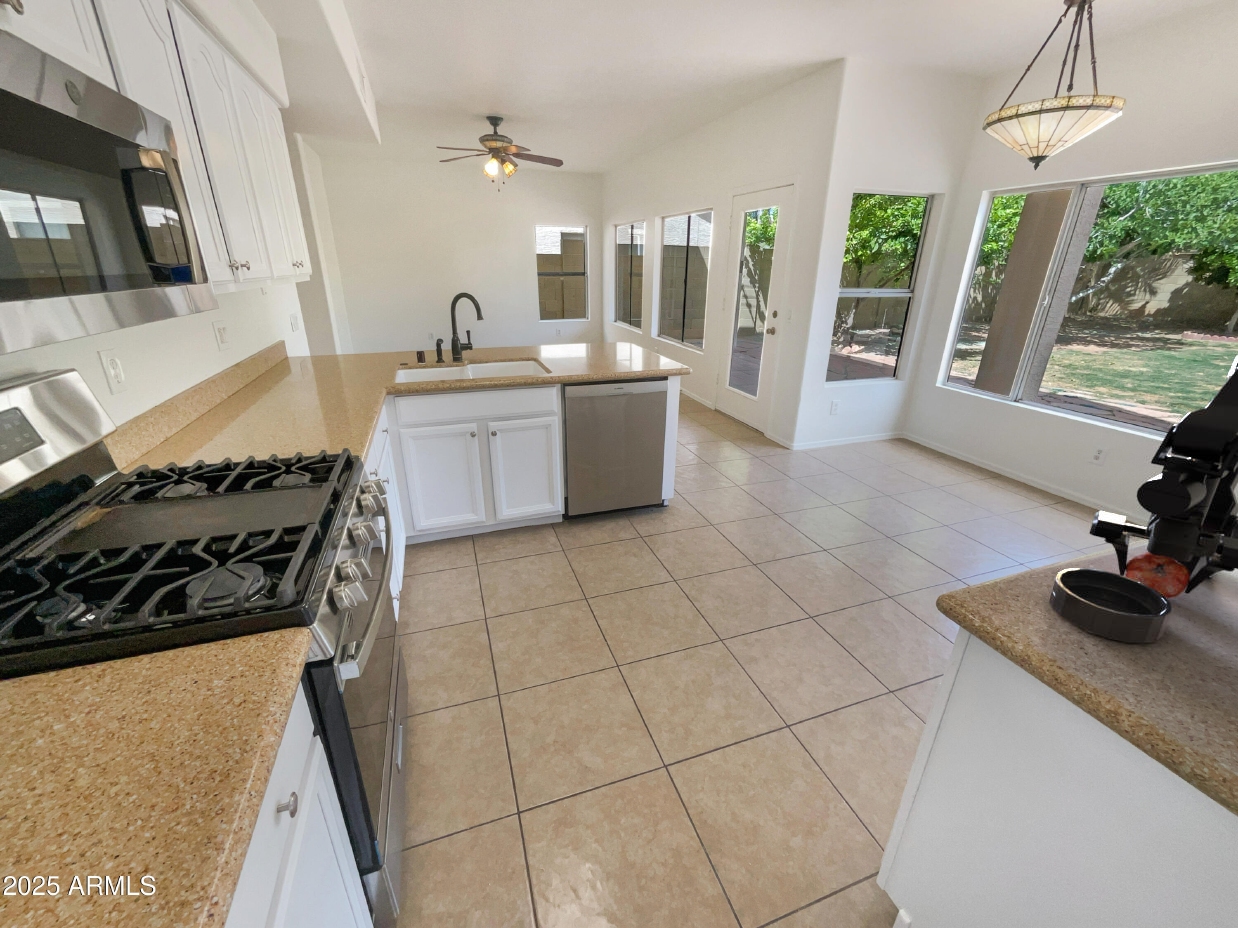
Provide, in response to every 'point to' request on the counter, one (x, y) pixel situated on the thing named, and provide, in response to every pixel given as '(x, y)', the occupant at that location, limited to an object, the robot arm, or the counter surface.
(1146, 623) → the dark shallow dish
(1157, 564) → the tomato
